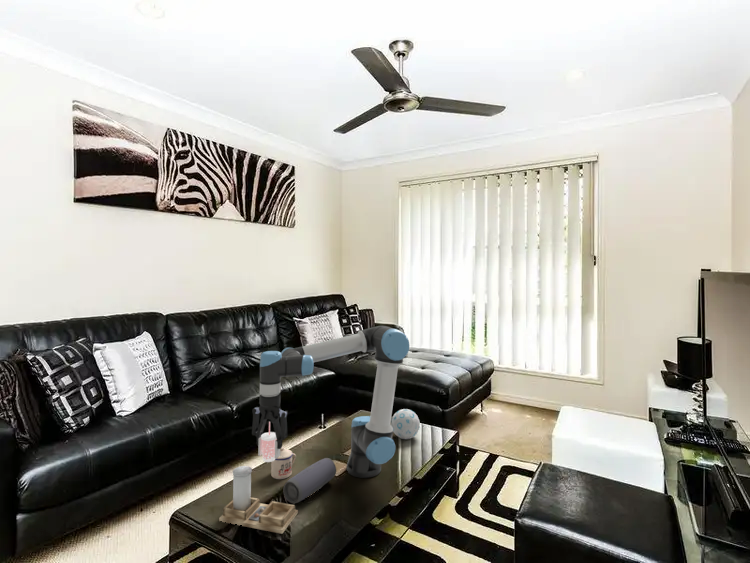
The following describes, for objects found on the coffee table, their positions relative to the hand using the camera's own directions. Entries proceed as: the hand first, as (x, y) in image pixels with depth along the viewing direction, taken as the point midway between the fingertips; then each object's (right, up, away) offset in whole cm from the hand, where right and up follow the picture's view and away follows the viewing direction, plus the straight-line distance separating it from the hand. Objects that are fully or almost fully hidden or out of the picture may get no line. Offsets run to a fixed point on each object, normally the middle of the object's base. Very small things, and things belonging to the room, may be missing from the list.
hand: (269, 455), depth 152 cm
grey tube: (-9, -18, -5) cm, 20 cm away
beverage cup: (0, -2, 0) cm, 2 cm away
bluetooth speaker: (+14, -19, +10) cm, 26 cm away
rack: (-2, -19, -7) cm, 20 cm away
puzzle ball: (+55, -18, +65) cm, 87 cm away
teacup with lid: (0, -18, +25) cm, 31 cm away
